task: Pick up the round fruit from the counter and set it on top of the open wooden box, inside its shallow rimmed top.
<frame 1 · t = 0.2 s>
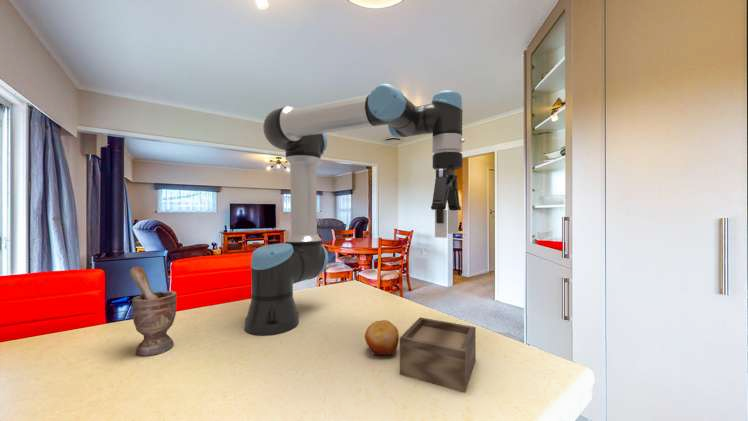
hand: (447, 235, 75), 27 cm above the table, tool pointing down, fingers open, 13 cm apart
fruit: (381, 352, 69), on the table
open wooden box: (439, 367, 62), on the table
mortar and pestle: (148, 350, 70), on the table
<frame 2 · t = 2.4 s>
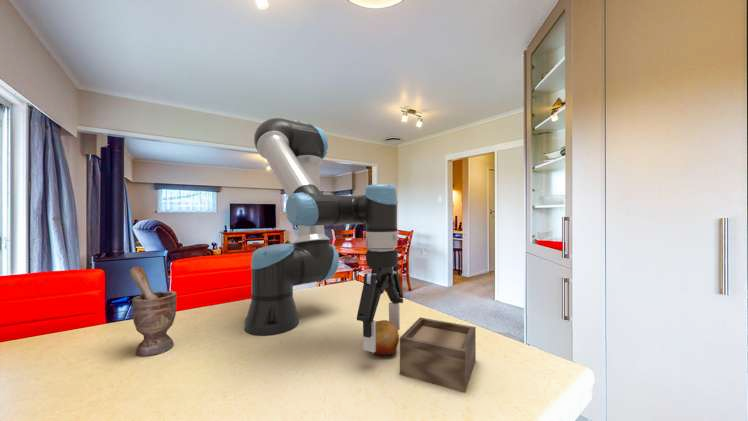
hand: (383, 338, 69), 3 cm above the table, tool pointing down, fingers open, 13 cm apart
nothing on the table moved.
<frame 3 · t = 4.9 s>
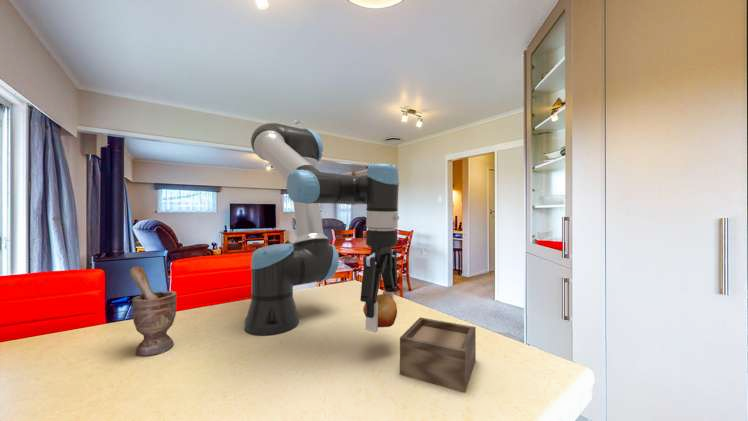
hand: (380, 323, 70), 7 cm above the table, tool pointing down, fingers closed on fruit, 8 cm apart
fruit: (380, 325, 70), point 6 cm above the table, touching gripper
everything else where it was.
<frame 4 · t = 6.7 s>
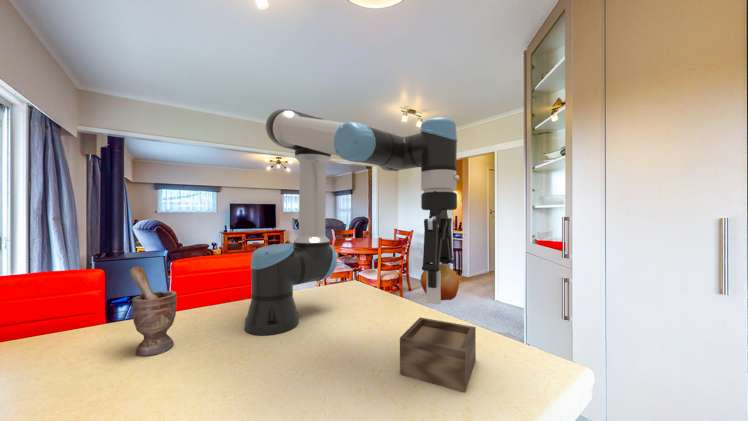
hand: (439, 297, 62), 15 cm above the table, tool pointing down, fingers closed on fruit, 8 cm apart
fruit: (439, 299, 62), point 14 cm above the table, touching gripper
everything else where it was.
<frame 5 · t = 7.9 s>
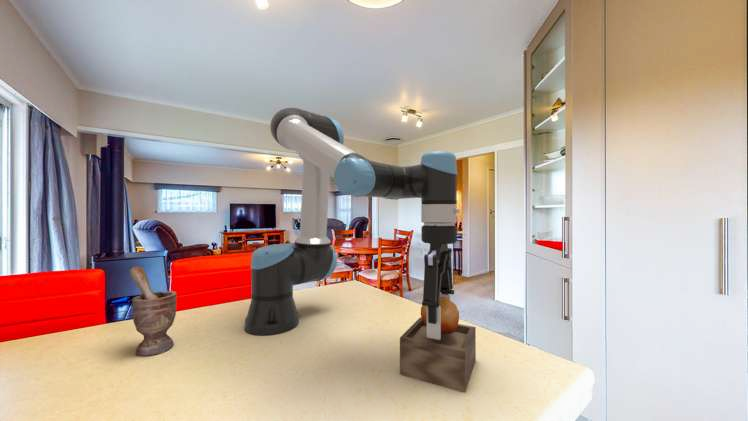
hand: (439, 330, 62), 8 cm above the table, tool pointing down, fingers closed on fruit, 8 cm apart
fruit: (439, 332, 62), point 7 cm above the table, touching gripper
everything else where it was.
when the fingers open (8 cm above the table, at t = 8.7 s): fruit drops 1 cm, resting on open wooden box.
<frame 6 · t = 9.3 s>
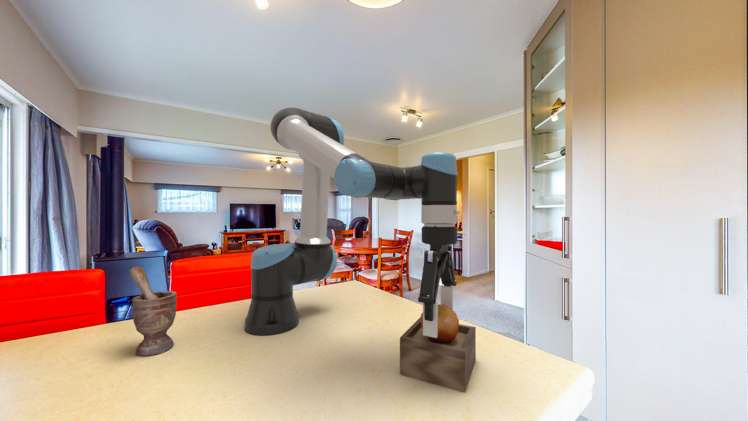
hand: (439, 324, 62), 9 cm above the table, tool pointing down, fingers open, 13 cm apart
fruit: (439, 340, 62), point 6 cm above the table, touching open wooden box
everything else where it was.
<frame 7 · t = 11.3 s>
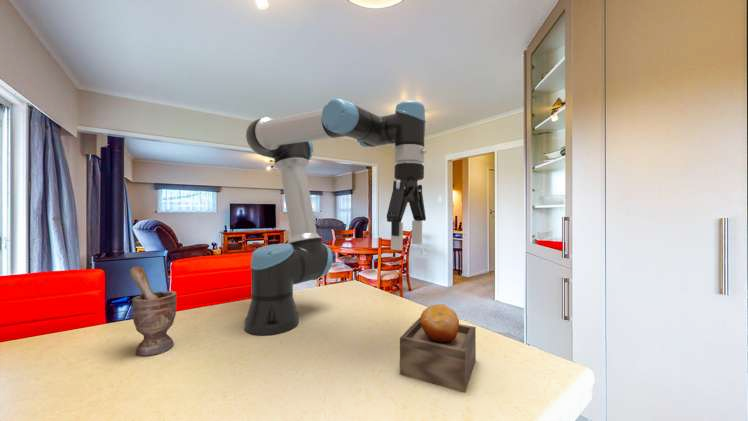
hand: (407, 246, 74), 24 cm above the table, tool pointing down, fingers open, 13 cm apart
nothing on the table moved.
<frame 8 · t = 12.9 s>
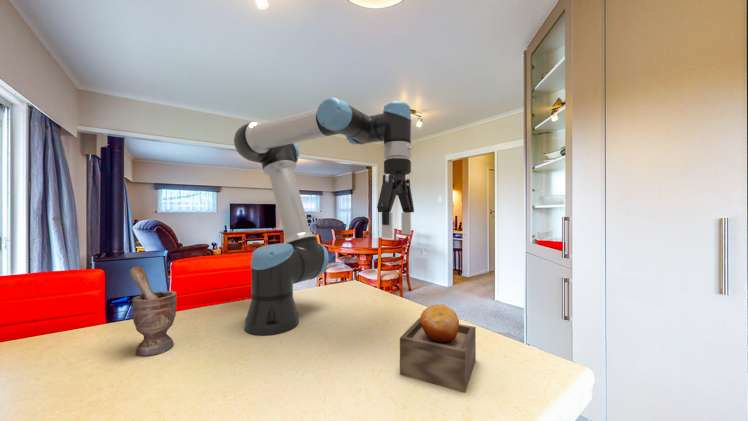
hand: (397, 236, 80), 27 cm above the table, tool pointing down, fingers open, 13 cm apart
nothing on the table moved.
at the end: fruit 0.0 cm off-centre on the open wooden box, point 5.8 cm above the open wooden box's base; the gripper is holding nothing; fruit touching open wooden box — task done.
